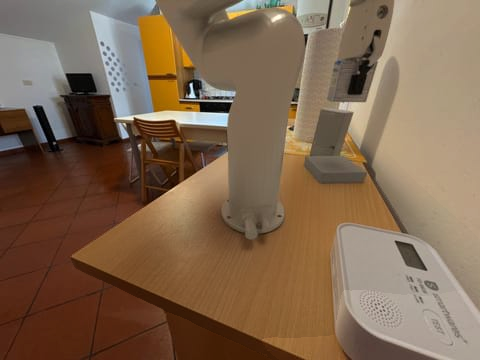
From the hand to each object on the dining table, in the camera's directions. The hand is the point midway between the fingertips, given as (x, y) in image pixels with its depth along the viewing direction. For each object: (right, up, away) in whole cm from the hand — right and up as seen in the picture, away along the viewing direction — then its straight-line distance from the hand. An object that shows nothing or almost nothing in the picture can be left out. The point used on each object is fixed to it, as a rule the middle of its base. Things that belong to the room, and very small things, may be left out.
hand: (347, 92), depth 47 cm
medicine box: (0, -2, +1) cm, 2 cm away
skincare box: (+4, -13, +22) cm, 26 cm away
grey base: (+1, -19, +9) cm, 21 cm away
